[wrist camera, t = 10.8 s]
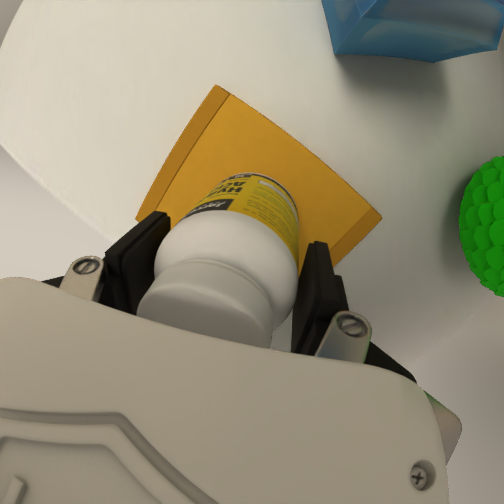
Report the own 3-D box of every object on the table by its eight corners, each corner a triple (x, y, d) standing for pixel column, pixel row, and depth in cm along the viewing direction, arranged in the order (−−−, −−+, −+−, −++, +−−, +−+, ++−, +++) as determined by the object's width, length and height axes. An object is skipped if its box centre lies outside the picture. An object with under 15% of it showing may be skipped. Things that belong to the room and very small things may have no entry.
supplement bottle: (252, 150, 14) (185, 213, 5) (317, 221, 15) (338, 359, 7) (188, 211, 16) (93, 319, 8) (249, 271, 18) (211, 407, 9)
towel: (138, 216, 17) (134, 219, 17) (217, 85, 13) (215, 84, 12) (277, 313, 19) (276, 318, 19) (380, 215, 15) (383, 218, 14)
